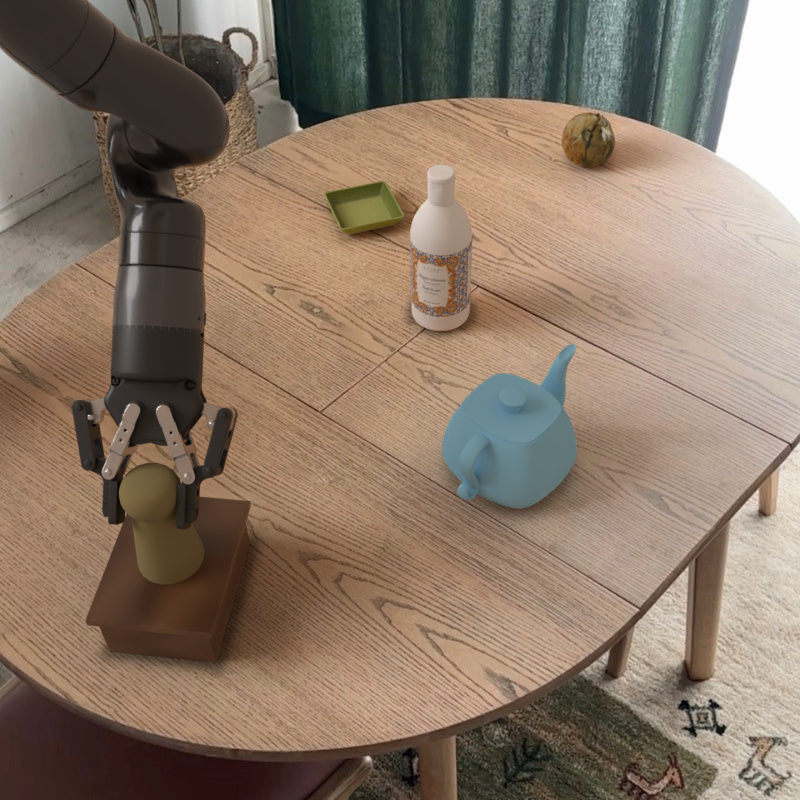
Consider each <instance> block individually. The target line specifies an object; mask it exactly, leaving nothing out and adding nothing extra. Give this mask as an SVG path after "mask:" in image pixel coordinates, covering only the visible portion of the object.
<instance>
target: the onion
mask: <svg viewBox="0 0 800 800" xmlns="http://www.w3.org/2000/svg"><path fill="white" fill-rule="evenodd" d="M560 142H561V146H562V151H563V153H564V154H565V156H566V158H567V159H568V160H569V161H570V162H572V163H573V164H574V165H576V166H578V167H581V168H589V169H590V168H595V167H598V166H600V165H602V164H605V163H606V162H608V160H609V159H610V158H611V156H612V155H613V153H614V150H615V149H616V135H615V133H614V130H613V128H612V124H611V122H610V121H609V120H608V119H607V118H606V117H605V116H604V115H601V114H600V112H598V113H596V112H591V111H590V112H587V111H585V112H581V113H578V114H576V115H574V116H573V117H572V118H571V119H569V121H568V122H567V123H566V124H565V126H564V129H563V132H562V135H561V141H560Z"/></svg>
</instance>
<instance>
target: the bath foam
mask: <svg viewBox="0 0 800 800" xmlns="http://www.w3.org/2000/svg"><path fill="white" fill-rule="evenodd" d="M426 180H427V183H426V184H427V198H426V200H425V201H424V202H423V203H422V204H421V206H420V207H419V208H418V209H417V211H416V213H415V214H414V216H413V218H412V222H411V225H410V231H409V260H410V262H409V263H410V264H409V265H410V269H409V270H410V298H411V299H410V301H411V315H412V318H413V319H414V321H415V322H416V323H417V324H418V325H419V326H421V327H422V328H424V329H427V330H430V331H435V332H447V331H452V330H454V329H457V328H460V327H461V326H462V325H463V324H464V323H465V322H466V321H467V319H468V318H469V315H470V314H471V313H470V311H471V293H472V292H471V291H472V263H473V262H472V260H473V259H472V258H473V231H472V230H473V229H472V225H471V221H470V217H469V216H468V214H467V212H466V210H465V209H464V208H463V206H462V205H461V204H460V203H459V201H458V200H457V199H456V172H455V169H454V168H453V167H452V166H450V165H447V164H435V165H433V166H431V167H429V169H428V170H427V178H426Z"/></svg>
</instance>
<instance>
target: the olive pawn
mask: <svg viewBox="0 0 800 800" xmlns="http://www.w3.org/2000/svg"><path fill="white" fill-rule="evenodd" d="M180 484H182V481H181V478H180V476H179V475H178V474H177V473H176V472H175V470H174V469H173V468H171V467H169V466H168V465H166V464H164V463H160V462H145V463H141V464H138V465H137V466H135V467H132V468H131V469H130V470H129V471H128V472H127V473H125V474H124V476H123V480H122V482H121V484H120V488H119V498H120V503H121V505H122V507H123V509H124V510H125V514H128V515H129V516H130V517H132V524H133V532H134V539H135V547H136V555H137V562H138V567H139V571H140V572H141V573H142V575H143V576H144V577H145V578H146V579H148V580H149V581H151V582H154V583H157V584H174V583H178V582H181V581H184V580H185V579H187V578H189V577H190V576H192V575H193V574H194V573H195V572H196V571H197V570H198V569H199V568H200V566H201V564H202V562H203V560H204V553H205V550H204V546H203V543H202V541H201V539H200V537H199V535H198V533H197V531H196V529H195V528H194V526H193V524H192V523H191V527H189V528H187V529H177V527H176V519H177V495H178V485H180Z"/></svg>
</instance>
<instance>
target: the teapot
mask: <svg viewBox="0 0 800 800" xmlns="http://www.w3.org/2000/svg"><path fill="white" fill-rule="evenodd" d="M576 351H577V346H576V344H574V343H570V344H568V345H566V346H564V348H562V349H561V350H560V351H559V353H557V356H556V357H555V359H554V360H553V362H552V364H551V366H550V368H549V370H548V372H547V373H546V375H545V377H544V379H543V380H542V382H541V383H540V384H537V383H536V382H533V381H531V380H529V379H527V378H524V377H521V376H519V375H515V374H512V373H506V372H500V373H496V374H495V373H494V374H493V375H491V376H489V377H488V378H486V379H485V380H483V381H482V382H481V383H480V384H478V386H477V387H475V388H474V389H472V391H470V393H469V394H468V395H467V396H466V397H465V399H464V400H463V401H462V402H461V403H460V405H459V406H458V407H457V408H456V410H455V411H454V413H453V415H451V417H450V420H449V421H448V424H447V426H446V427H445V428H446V429H445V431H444V433H443V434H444V435H443V437H442V438H443V439H442V444H441V454H442V455H441V456H442V458H443V461H444V463H445V465H446V466H447V468H448V470H449V471H450V472H451V473H452V474H453V475H454V476H455V477H456V478H457V479H458V480H459V481H460V484H459V485H458V487H457V495H458V497H459V498H460V499H461V500H464V501H471V500H473V499H475V498H476V496H477V495H478V496H480V498H481V497H482V498H483V499H485V500H487V501H490V502H491V503H495V504H496V505H500V506H503V507H506V508H510V509H526V508H529V507H531V506H534V505H536V504H537V503H539V502H540V501H542V500H544V499H545V498H546V497H547V496H548V495H550V493H552V492H553V491H554V490H556V488H557V487H559V486H560V484H562V482H563V481H564V480H565V479H566V477H567V476H568V474H569V473H570V471H571V470H572V468H573V467H574V465H575V463H576V460H577V454H578V446H577V437H576V433H575V429H574V426H573V424H572V421H571V419H570V417H569V415H568V413H567V411H566V410H565V408H564V405H565V401H566V393H567V392H566V390H567V389H566V385H567V383H566V379H567V371H568V367H569V365H570V362H571V361H572V358H573V357H574V354H576Z"/></svg>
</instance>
